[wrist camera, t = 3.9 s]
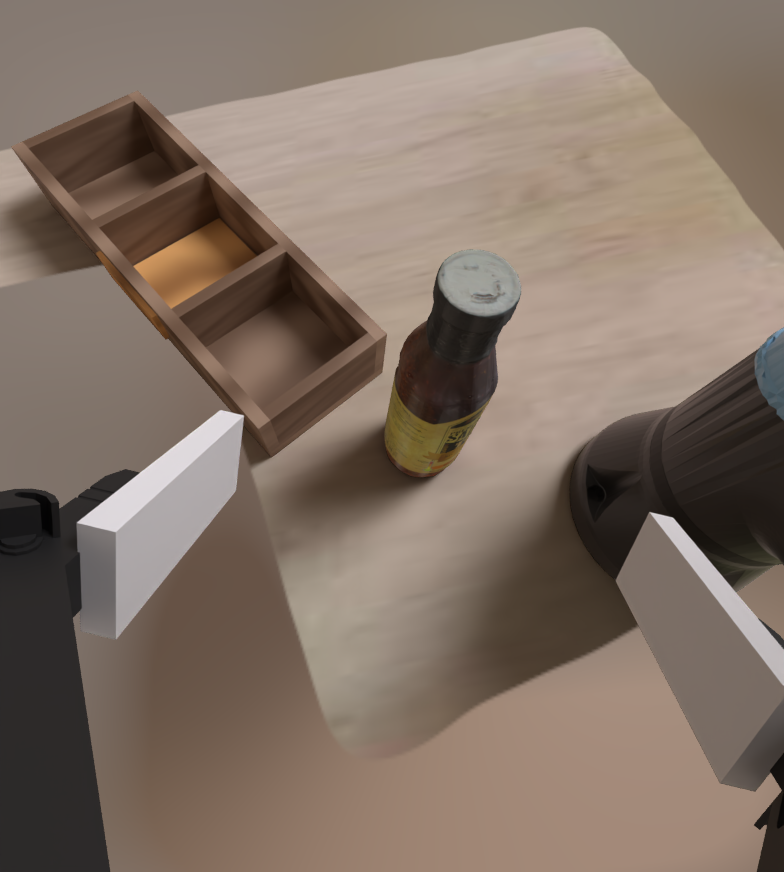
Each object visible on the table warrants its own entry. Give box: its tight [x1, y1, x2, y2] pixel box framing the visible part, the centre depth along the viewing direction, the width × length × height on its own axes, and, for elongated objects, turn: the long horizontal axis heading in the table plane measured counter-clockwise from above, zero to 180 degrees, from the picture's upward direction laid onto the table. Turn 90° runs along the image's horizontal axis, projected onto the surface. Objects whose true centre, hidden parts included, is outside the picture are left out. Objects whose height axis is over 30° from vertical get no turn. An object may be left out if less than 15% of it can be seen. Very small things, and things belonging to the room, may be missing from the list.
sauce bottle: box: [384, 249, 521, 477], centre depth 32 cm, size 6×6×20 cm
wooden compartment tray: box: [12, 91, 387, 457], centre depth 42 cm, size 34×12×6 cm, turn 42°
